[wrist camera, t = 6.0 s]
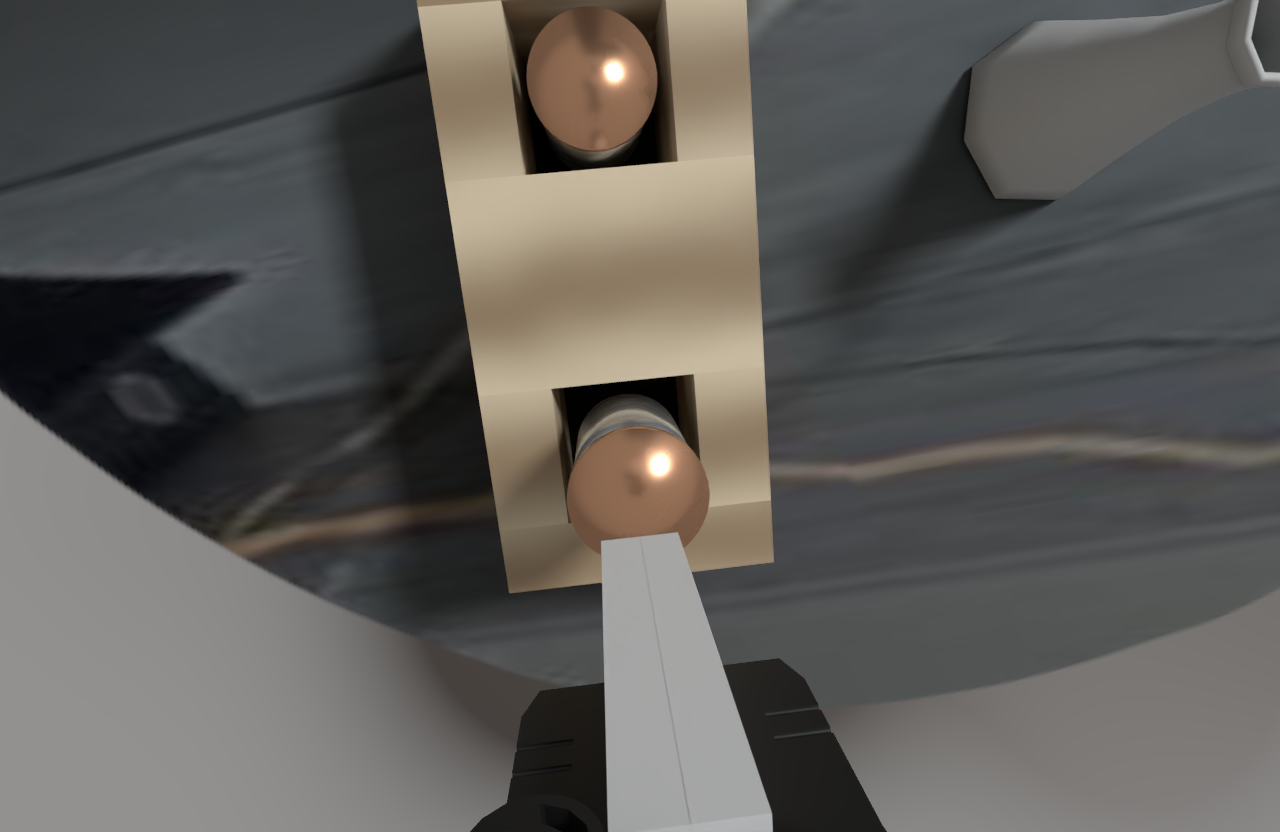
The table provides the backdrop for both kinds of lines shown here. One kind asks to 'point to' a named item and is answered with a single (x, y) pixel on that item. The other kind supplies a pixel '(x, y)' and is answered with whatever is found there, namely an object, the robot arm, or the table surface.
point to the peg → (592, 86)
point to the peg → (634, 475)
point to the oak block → (607, 270)
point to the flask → (1107, 89)
